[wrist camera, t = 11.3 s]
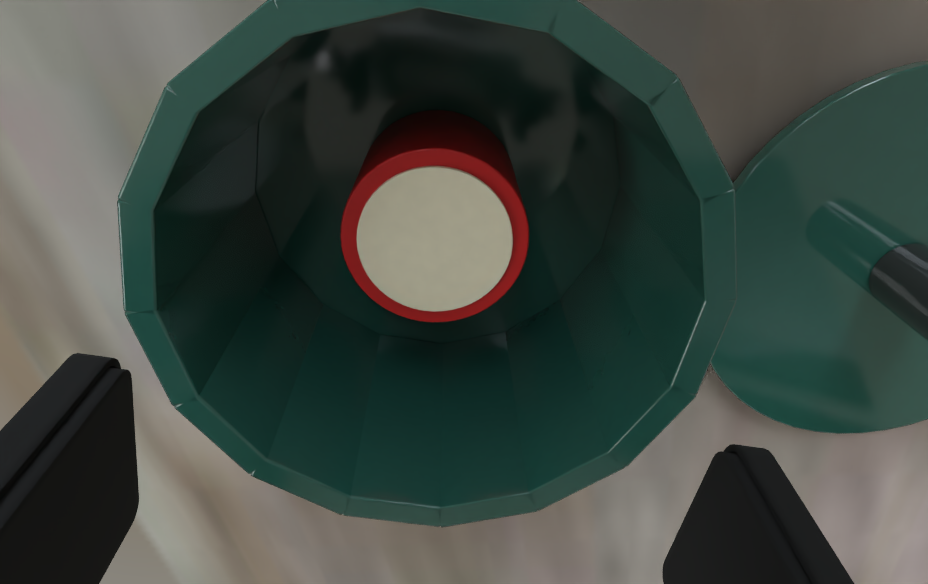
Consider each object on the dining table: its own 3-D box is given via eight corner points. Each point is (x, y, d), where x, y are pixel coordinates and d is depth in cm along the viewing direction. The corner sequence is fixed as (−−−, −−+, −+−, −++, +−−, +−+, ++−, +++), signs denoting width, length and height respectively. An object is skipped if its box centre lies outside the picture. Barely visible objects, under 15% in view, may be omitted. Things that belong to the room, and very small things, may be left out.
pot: (244, -81, 20) (96, -105, 12) (691, 12, 22) (846, 49, 13) (233, 321, 27) (133, 491, 18) (577, 372, 28) (630, 551, 20)
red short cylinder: (370, 96, 22) (349, 133, 18) (530, 125, 23) (550, 168, 18) (352, 245, 25) (330, 311, 20) (497, 268, 25) (507, 337, 21)
